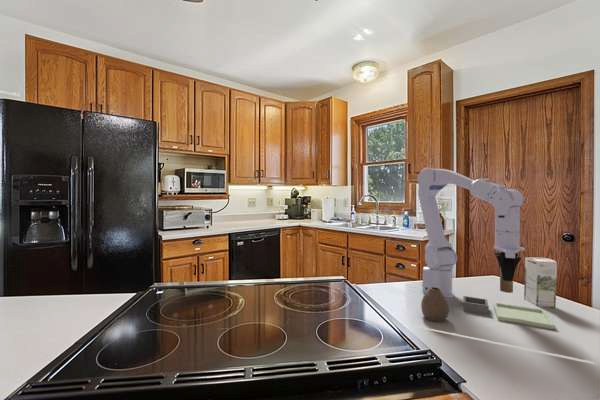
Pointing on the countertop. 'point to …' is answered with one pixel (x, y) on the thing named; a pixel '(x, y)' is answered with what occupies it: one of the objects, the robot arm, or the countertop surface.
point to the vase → (435, 305)
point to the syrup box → (540, 281)
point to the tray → (523, 315)
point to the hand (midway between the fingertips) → (506, 279)
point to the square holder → (475, 305)
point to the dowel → (505, 285)
